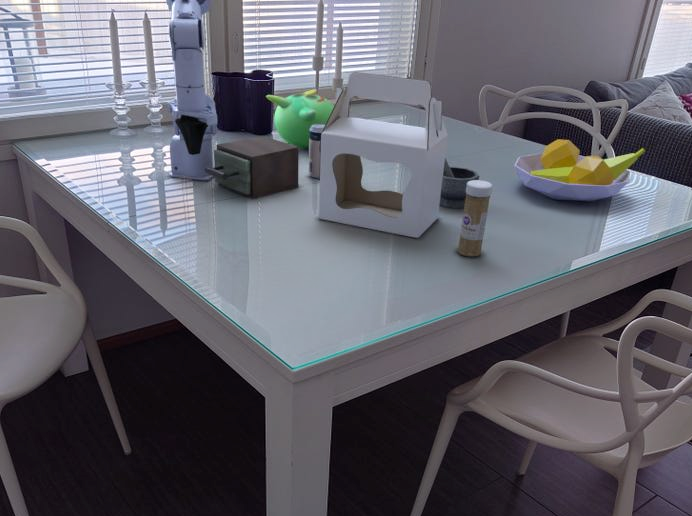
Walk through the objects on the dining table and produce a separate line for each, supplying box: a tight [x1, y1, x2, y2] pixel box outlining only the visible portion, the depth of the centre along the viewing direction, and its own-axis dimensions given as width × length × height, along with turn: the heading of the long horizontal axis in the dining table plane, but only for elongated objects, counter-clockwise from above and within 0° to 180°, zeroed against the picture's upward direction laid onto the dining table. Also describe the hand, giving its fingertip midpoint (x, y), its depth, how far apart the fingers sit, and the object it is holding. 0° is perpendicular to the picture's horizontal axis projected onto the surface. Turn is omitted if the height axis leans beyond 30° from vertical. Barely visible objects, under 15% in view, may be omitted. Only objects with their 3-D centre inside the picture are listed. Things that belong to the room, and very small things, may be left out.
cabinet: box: [215, 135, 300, 199], centre depth 159 cm, size 14×13×9 cm
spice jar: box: [308, 124, 325, 180], centre depth 166 cm, size 5×5×12 cm
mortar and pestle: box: [439, 157, 480, 209], centre depth 153 cm, size 11×9×12 cm
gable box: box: [318, 71, 449, 239], centre depth 138 cm, size 22×13×28 cm, turn 66°
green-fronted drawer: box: [205, 148, 251, 195], centre depth 156 cm, size 17×11×7 cm, turn 135°
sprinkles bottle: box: [456, 179, 493, 258], centre depth 128 cm, size 5×5×14 cm
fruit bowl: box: [514, 138, 646, 202], centre depth 163 cm, size 28×27×11 cm
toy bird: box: [265, 89, 338, 149], centre depth 188 cm, size 18×17×15 cm
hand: (194, 153), depth 146 cm, fingers closed
